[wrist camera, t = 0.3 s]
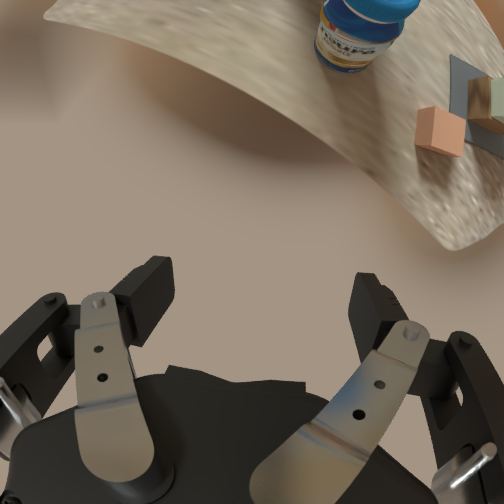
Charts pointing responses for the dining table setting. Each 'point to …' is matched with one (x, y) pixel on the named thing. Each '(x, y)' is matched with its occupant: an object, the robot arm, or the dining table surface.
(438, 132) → the terracotta cube
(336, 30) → the beverage bottle
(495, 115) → the sage block
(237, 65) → the dining table surface
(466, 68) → the slate mat
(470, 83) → the walnut block
